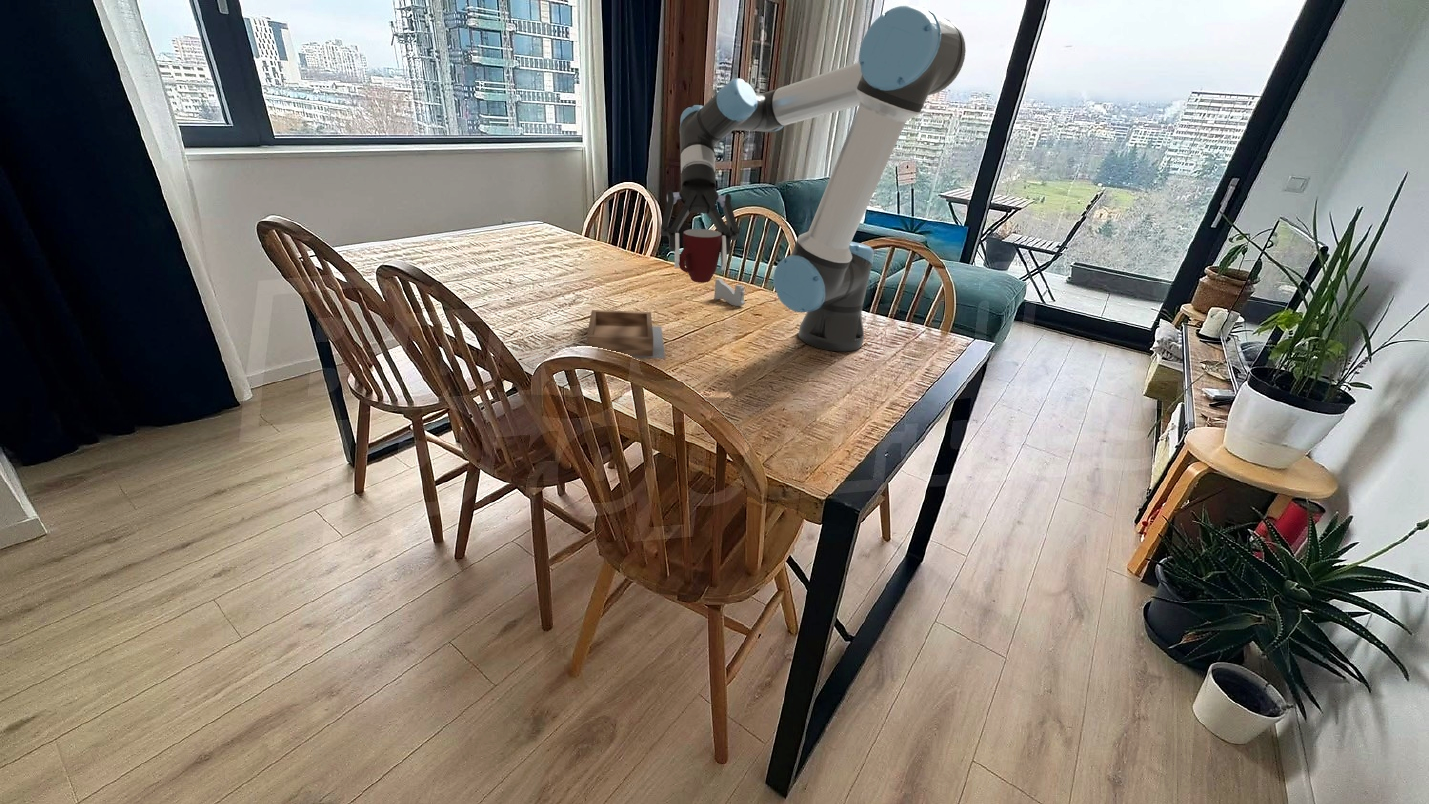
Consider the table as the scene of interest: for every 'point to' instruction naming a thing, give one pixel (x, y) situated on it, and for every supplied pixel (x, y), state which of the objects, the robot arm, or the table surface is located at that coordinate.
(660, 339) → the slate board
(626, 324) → the wooden tray
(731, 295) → the notched grey bracket
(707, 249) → the mug
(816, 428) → the table surface
